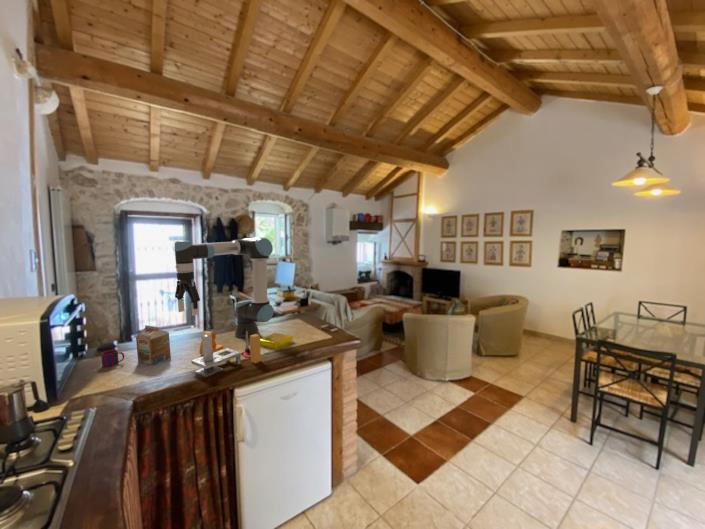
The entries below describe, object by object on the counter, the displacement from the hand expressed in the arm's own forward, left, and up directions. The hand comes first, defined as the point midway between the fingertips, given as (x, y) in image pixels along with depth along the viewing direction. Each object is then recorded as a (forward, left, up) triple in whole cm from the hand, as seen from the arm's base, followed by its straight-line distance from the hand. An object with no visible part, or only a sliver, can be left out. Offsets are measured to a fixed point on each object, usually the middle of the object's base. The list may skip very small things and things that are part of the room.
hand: (188, 313), depth 153 cm
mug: (+22, -36, -27) cm, 50 cm away
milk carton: (+8, -23, -27) cm, 36 cm away
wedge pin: (-20, +25, -27) cm, 42 cm away
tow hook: (-25, +15, -27) cm, 40 cm away
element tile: (-44, +14, -28) cm, 54 cm away
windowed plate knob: (-5, +15, -27) cm, 31 cm away
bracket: (-15, -7, -27) cm, 32 cm away
